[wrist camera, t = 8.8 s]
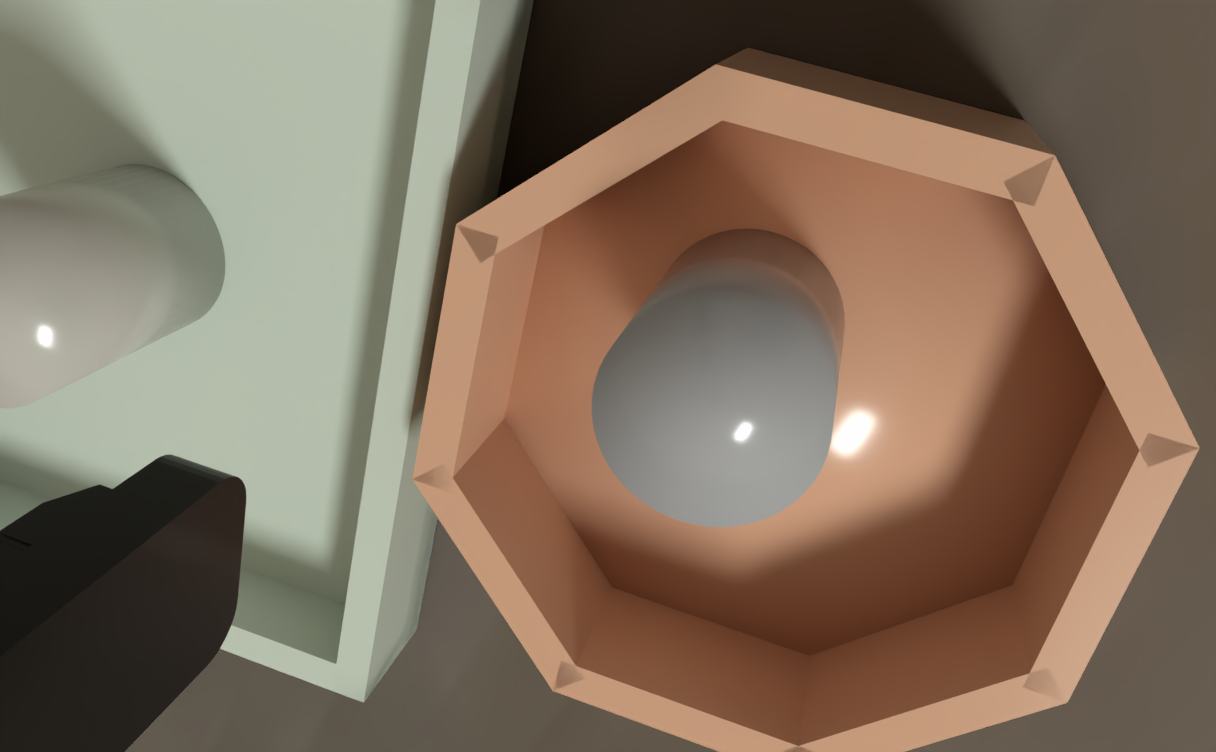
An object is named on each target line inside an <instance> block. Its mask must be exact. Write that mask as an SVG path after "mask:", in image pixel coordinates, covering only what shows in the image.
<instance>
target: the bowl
mask: <svg viewBox="0 0 1216 752" xmlns="http://www.w3.org/2000/svg"><path fill="white" fill-rule="evenodd" d="M733 229H761V230H766V231H770V232H775V233H778V234H780V235H783V236H786V237H788V238H790V239H792V240H794V241H796V242H798V243H800V244H801V245H802V246H804V247H805V248H807V249H808V250H810V251H811V252H812V253H813V254H814V255H815V256H816V257H817V258H818V259H819V260H820V261H821V262H822V263H823V264H824V265H825V267H826V268H827V269H828V271H829V272H830V274H831V275H832V277H833V279H834V281H835V283H836V285H837V287H838V289H839V292H840V295H841V298H842V301H843V307H844V313H845V331H844V339H843V348H842V356H841V364H840V373H839V381H838V389H837V397H836V406H835V414H834V422H833V430H832V439H831V444H830V448H829V452H828V455H827V458H826V460H825V462H824V465H823V467H822V469H821V471H820V473H819V474H818V476H817V478H816V479H815V481H814V482H813V483H812V485H811V486H810V487H809V488H808V489H807V491H806V492H805V493H804V494H803V495H802V496H801V497H800V498H798V499H797V500H796V501H795V502H794V503H793V504H791V505H790V506H788V507H787V508H785V509H784V510H782V511H781V512H779V513H777V514H775V515H773V516H771V517H769V518H766V519H763V520H760V521H757V522H755V523H750V524H746V525H741V526H732V527H707V526H700V525H694V524H690V523H686V522H682V521H679V520H676V519H674V518H671V517H669V516H666V515H664V514H662V513H660V512H658V511H656V510H654V509H652V508H651V507H649V506H648V505H646V504H645V503H643V502H642V501H641V500H639V499H638V498H637V497H636V496H634V495H633V494H632V493H631V492H630V491H629V490H628V489H627V488H626V487H625V486H624V485H623V484H622V483H621V482H620V481H619V480H618V478H617V477H616V476H615V474H614V473H613V472H612V470H611V469H610V467H609V466H608V464H607V462H606V460H605V458H604V457H603V455H602V453H601V450H600V448H599V445H598V442H597V440H596V436H595V432H594V428H593V421H592V394H593V387H594V382H595V379H596V376H597V373H598V370H599V368H600V366H601V364H602V361H603V359H604V357H605V356H606V354H607V353H608V351H609V350H610V348H611V347H612V345H613V344H614V343H615V341H616V340H617V338H618V337H619V336H620V334H621V333H622V332H623V330H624V329H625V328H626V326H627V325H628V323H629V322H630V321H631V319H632V318H633V317H634V315H635V314H636V313H637V311H638V310H639V309H640V307H641V306H642V304H643V303H644V302H645V300H646V299H647V298H648V296H649V295H650V294H651V292H652V291H653V289H654V288H655V287H656V285H657V284H658V283H659V281H660V280H661V279H662V277H663V276H664V274H665V273H666V272H667V270H668V269H669V268H670V266H671V265H672V264H673V263H674V261H675V260H676V259H677V258H678V257H679V256H680V255H681V254H682V253H683V252H684V251H685V250H687V249H688V248H689V247H690V246H692V245H693V244H695V243H697V242H698V241H700V240H702V239H704V238H706V237H708V236H710V235H713V234H716V233H719V232H723V231H728V230H733ZM1198 450H1199V446H1198V444H1197V442H1196V440H1195V438H1194V436H1193V434H1192V432H1191V430H1190V428H1189V426H1188V424H1187V422H1186V420H1185V418H1184V416H1183V414H1182V412H1181V410H1180V408H1179V406H1178V404H1177V402H1176V400H1175V398H1174V395H1173V393H1172V391H1171V389H1170V387H1169V385H1168V383H1167V381H1166V379H1165V377H1164V375H1163V373H1162V371H1161V369H1160V367H1159V365H1158V363H1157V361H1156V359H1155V357H1154V355H1153V353H1152V351H1151V349H1150V347H1149V345H1148V343H1147V341H1146V339H1145V337H1144V335H1143V333H1142V331H1141V329H1140V327H1139V324H1138V322H1137V320H1136V318H1135V316H1134V314H1133V312H1132V310H1131V308H1130V306H1129V304H1128V302H1127V300H1126V298H1125V296H1124V294H1123V292H1122V290H1121V288H1120V286H1119V284H1118V282H1117V280H1116V278H1115V276H1114V274H1113V272H1112V270H1111V268H1110V266H1109V264H1108V262H1107V260H1106V258H1105V256H1104V253H1103V251H1102V249H1101V247H1100V245H1099V243H1098V241H1097V239H1096V237H1095V235H1094V233H1093V231H1092V229H1091V227H1090V225H1089V223H1088V221H1087V219H1086V217H1085V215H1084V213H1083V211H1082V209H1081V207H1080V205H1079V203H1078V201H1077V199H1076V197H1075V195H1074V193H1073V191H1072V189H1071V187H1070V185H1069V182H1068V180H1067V178H1066V176H1065V174H1064V172H1063V170H1062V168H1061V166H1060V164H1059V162H1058V160H1057V158H1056V156H1055V155H1054V153H1053V152H1052V151H1051V150H1050V149H1049V148H1048V147H1047V145H1046V144H1045V143H1044V142H1043V141H1042V140H1041V138H1040V137H1039V136H1038V135H1037V134H1036V133H1035V131H1034V130H1033V129H1032V128H1031V127H1030V126H1029V125H1028V123H1027V122H1026V121H1024V120H1021V119H1017V118H1013V117H1009V116H1005V115H1002V114H998V113H994V112H990V111H986V110H983V109H979V108H975V107H971V106H968V105H964V104H960V103H956V102H952V101H949V100H945V99H941V98H937V97H934V96H930V95H926V94H922V93H918V92H915V91H911V90H907V89H903V88H899V87H896V86H892V85H888V84H884V83H881V82H877V81H873V80H869V79H865V78H862V77H858V76H854V75H850V74H847V73H843V72H839V71H835V70H831V69H828V68H824V67H820V66H816V65H812V64H809V63H805V62H801V61H797V60H794V59H790V58H786V57H782V56H778V55H775V54H771V53H767V52H763V51H759V50H756V49H752V48H746V49H744V50H742V51H740V52H738V53H736V54H734V55H732V56H731V57H729V58H727V59H725V60H723V61H721V62H719V63H717V64H715V65H714V66H712V67H711V68H709V69H707V70H706V71H704V72H702V73H701V74H699V75H698V76H696V77H694V78H693V79H691V80H689V81H688V82H686V83H685V84H683V85H681V86H680V87H678V88H676V89H675V90H673V91H672V92H670V93H668V94H667V95H665V96H663V97H662V98H660V99H659V100H657V101H655V102H654V103H652V104H650V105H649V106H647V107H646V108H644V109H642V110H641V111H639V112H637V113H636V114H634V115H633V116H631V117H629V118H628V119H626V120H624V121H623V122H621V123H620V124H618V125H616V126H615V127H613V128H611V129H610V130H608V131H607V132H605V133H603V134H602V135H600V136H598V137H597V138H595V139H594V140H592V141H590V142H589V143H587V144H585V145H584V146H582V147H581V148H579V149H577V150H576V151H574V152H572V153H571V154H569V155H568V156H566V157H564V158H563V159H561V160H559V161H558V162H556V163H555V164H553V165H551V166H550V167H548V168H546V169H545V170H543V171H542V172H540V173H538V174H537V175H535V176H533V177H532V178H530V179H529V180H527V181H525V182H524V183H522V184H520V185H519V186H517V187H516V188H514V189H512V190H511V191H509V192H507V193H506V194H504V195H503V196H501V197H499V198H498V199H496V200H494V201H493V202H491V203H490V204H488V205H486V206H485V207H483V208H481V209H480V210H478V211H477V212H475V213H473V214H472V215H470V216H468V217H467V218H465V219H464V220H462V221H460V222H459V223H457V224H456V228H455V234H454V239H453V245H452V251H451V257H450V263H449V269H448V274H447V280H446V286H445V292H444V298H443V304H442V309H441V315H440V321H439V327H438V333H437V339H436V344H435V350H434V356H433V362H432V368H431V374H430V379H429V385H428V391H427V397H426V403H425V408H424V414H423V420H422V426H421V432H420V438H419V443H418V449H417V455H416V461H415V467H414V473H413V478H412V480H413V481H414V483H415V484H416V486H417V487H418V489H419V490H420V492H421V493H422V495H423V496H424V498H425V499H426V501H427V502H428V504H429V505H430V507H431V508H432V510H433V511H434V513H435V514H436V516H437V517H438V519H439V520H440V522H441V523H442V525H443V526H444V528H445V529H446V531H447V532H448V534H449V535H450V537H451V538H452V540H453V541H454V543H455V544H456V546H457V547H458V549H459V550H460V552H461V553H462V555H463V556H464V558H465V559H466V561H467V562H468V564H469V565H470V567H471V568H472V570H473V571H474V573H475V574H476V576H477V577H478V579H479V580H480V582H481V583H482V585H483V587H484V588H485V590H486V591H487V593H488V594H489V596H490V597H491V599H492V600H493V602H494V603H495V605H496V606H497V608H498V609H499V611H500V612H501V614H502V615H503V617H504V618H505V620H506V621H507V623H508V624H509V626H510V627H511V629H512V630H513V632H514V633H515V635H516V636H517V638H518V639H519V641H520V642H521V644H522V645H523V647H524V648H525V650H526V651H527V653H528V654H529V656H530V657H531V659H532V660H533V662H534V663H535V665H536V666H537V668H538V669H539V671H540V672H541V674H542V675H543V677H544V678H545V680H546V681H547V683H548V684H549V686H550V687H551V689H552V690H553V691H555V692H557V693H560V694H563V695H566V696H568V697H571V698H574V699H577V700H579V701H582V702H585V703H588V704H590V705H593V706H596V707H598V708H601V709H604V710H607V711H609V712H612V713H615V714H618V715H620V716H623V717H626V718H629V719H631V720H634V721H637V722H640V723H642V724H645V725H648V726H651V727H653V728H656V729H659V730H662V731H664V732H667V733H670V734H673V735H675V736H678V737H681V738H683V739H686V740H689V741H692V742H694V743H697V744H700V745H703V746H705V747H708V748H711V749H714V750H716V751H719V752H904V751H908V750H911V749H914V748H918V747H921V746H924V745H928V744H931V743H935V742H938V741H941V740H945V739H948V738H951V737H955V736H958V735H961V734H965V733H968V732H971V731H975V730H978V729H981V728H985V727H988V726H991V725H995V724H998V723H1001V722H1005V721H1008V720H1011V719H1015V718H1018V717H1021V716H1025V715H1028V714H1031V713H1035V712H1038V711H1041V710H1045V709H1048V708H1051V707H1055V706H1058V705H1061V704H1065V703H1067V702H1068V700H1069V698H1070V696H1071V694H1072V693H1073V691H1074V689H1075V687H1076V685H1077V683H1078V681H1079V679H1080V677H1081V675H1082V673H1083V671H1084V669H1085V668H1086V666H1087V664H1088V662H1089V660H1090V658H1091V656H1092V654H1093V652H1094V650H1095V648H1096V646H1097V644H1098V643H1099V641H1100V639H1101V637H1102V635H1103V633H1104V631H1105V629H1106V627H1107V625H1108V623H1109V621H1110V619H1111V618H1112V616H1113V614H1114V612H1115V610H1116V608H1117V606H1118V604H1119V602H1120V600H1121V598H1122V596H1123V594H1124V593H1125V591H1126V589H1127V587H1128V585H1129V583H1130V581H1131V579H1132V577H1133V575H1134V573H1135V571H1136V569H1137V568H1138V566H1139V564H1140V562H1141V560H1142V558H1143V556H1144V554H1145V552H1146V550H1147V548H1148V546H1149V544H1150V542H1151V541H1152V539H1153V537H1154V535H1155V533H1156V531H1157V529H1158V527H1159V525H1160V523H1161V521H1162V519H1163V517H1164V516H1165V514H1166V512H1167V510H1168V508H1169V506H1170V504H1171V502H1172V500H1173V498H1174V496H1175V494H1176V492H1177V491H1178V489H1179V487H1180V485H1181V483H1182V481H1183V479H1184V477H1185V475H1186V473H1187V471H1188V469H1189V467H1190V466H1191V464H1192V462H1193V460H1194V458H1195V456H1196V454H1197V452H1198Z"/></svg>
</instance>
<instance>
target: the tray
mask: <svg viewBox="0 0 1216 752" xmlns="http://www.w3.org/2000/svg"><path fill="white" fill-rule="evenodd" d="M533 2H534V0H0V196H1V195H5V194H9V193H13V192H17V191H21V190H25V189H29V188H33V187H37V186H41V185H45V184H49V183H53V182H57V181H61V180H65V179H69V178H73V177H77V176H81V175H85V174H89V173H93V172H97V171H101V170H105V169H109V168H113V167H117V166H121V165H126V164H141V165H148V166H152V167H155V168H158V169H161V170H163V171H166V172H167V173H169V174H171V175H173V176H175V177H176V178H178V179H179V180H181V181H182V182H183V183H185V184H186V185H187V186H188V187H189V188H190V189H191V190H193V192H194V193H195V194H196V195H197V196H198V197H199V198H200V199H201V201H202V202H203V203H204V205H205V206H206V207H207V209H208V210H209V212H210V214H211V215H212V217H213V219H214V221H215V223H216V225H217V228H218V230H219V233H220V236H221V239H222V243H223V247H224V253H225V277H224V283H223V286H222V290H221V292H220V295H219V297H218V299H217V301H216V302H215V304H214V305H213V307H212V308H211V309H210V310H209V311H208V312H207V314H205V315H204V316H203V317H202V318H200V319H199V320H197V321H195V322H193V323H191V324H189V325H187V326H185V327H183V328H181V329H179V330H177V331H175V332H173V333H171V334H169V335H167V336H165V337H163V338H161V339H159V340H157V341H155V342H153V343H151V344H149V345H147V346H145V347H143V348H141V349H139V350H137V351H135V352H133V353H131V354H130V355H128V356H126V357H124V358H122V359H120V360H118V361H116V362H114V363H112V364H110V365H108V366H106V367H104V368H102V369H100V370H98V371H96V372H94V373H92V374H90V375H88V376H86V377H84V378H82V379H80V380H78V381H76V382H74V383H72V384H70V385H68V386H66V387H64V388H62V389H60V390H58V391H56V392H54V393H52V394H50V395H48V396H46V397H44V398H42V399H40V400H38V401H36V402H34V403H32V404H29V405H26V406H23V407H18V408H0V530H2V529H3V528H5V527H6V526H8V525H9V524H11V523H12V522H14V521H15V520H17V519H18V518H20V517H22V516H23V515H25V514H26V513H28V512H29V511H31V510H32V509H34V508H35V507H37V506H38V505H40V504H42V503H44V502H47V501H50V500H53V499H56V498H59V497H62V496H65V495H68V494H71V493H74V492H78V491H81V490H84V489H87V488H90V487H93V486H96V485H99V484H100V485H103V486H106V487H108V488H111V489H113V488H115V487H116V486H118V485H119V484H121V483H122V482H123V481H125V480H126V479H128V478H129V477H131V476H132V475H134V474H135V473H137V472H138V471H139V470H141V469H142V468H144V467H145V466H147V465H148V464H150V463H151V462H152V461H154V460H155V459H157V458H159V457H161V456H164V455H175V456H178V457H181V458H183V459H186V460H189V461H192V462H195V463H198V464H201V465H204V466H207V467H210V468H213V469H215V470H218V471H221V472H224V473H227V474H230V475H233V476H236V477H239V478H240V479H241V480H242V481H243V483H244V485H245V488H246V510H245V522H244V533H243V545H242V557H241V568H240V580H239V591H238V601H237V608H236V612H235V616H234V619H233V622H232V625H231V627H230V630H229V632H228V634H227V636H226V638H225V640H224V642H223V644H222V646H221V647H220V649H222V650H225V651H228V652H230V653H233V654H236V655H238V656H241V657H244V658H246V659H249V660H252V661H254V662H257V663H260V664H262V665H265V666H268V667H270V668H273V669H276V670H278V671H281V672H284V673H286V674H289V675H291V676H294V677H297V678H299V679H302V680H305V681H307V682H310V683H313V684H315V685H318V686H321V687H323V688H326V689H329V690H331V691H334V692H337V693H339V694H342V695H345V696H347V697H350V698H353V699H355V700H358V701H360V702H363V703H364V701H365V700H366V699H367V697H368V696H369V695H370V693H371V692H372V690H373V689H374V688H375V686H376V685H377V684H378V682H379V681H380V679H381V678H382V677H383V675H384V674H385V672H386V671H387V670H388V668H389V667H390V666H391V664H392V663H393V661H394V660H395V659H396V657H397V656H398V655H399V653H400V652H401V650H402V649H403V648H404V646H405V645H406V644H407V642H408V641H409V639H410V638H411V637H412V635H413V634H414V633H415V631H416V630H417V625H418V620H419V615H420V609H421V604H422V598H423V593H424V588H425V582H426V577H427V572H428V566H429V561H430V555H431V550H432V545H433V539H434V534H435V529H436V523H437V518H438V517H437V516H436V514H435V513H434V511H433V510H432V508H431V507H430V505H429V504H428V502H427V501H426V499H425V498H424V496H423V495H422V493H421V492H420V490H419V489H418V487H417V486H416V484H415V483H414V481H413V480H412V478H413V473H414V467H415V461H416V455H417V449H418V443H419V438H420V432H421V426H422V420H423V414H424V408H425V403H426V397H427V391H428V385H429V379H430V374H431V368H432V362H433V356H434V350H435V344H436V339H437V333H438V327H439V321H440V315H441V309H442V304H443V298H444V292H445V286H446V280H447V274H448V269H449V263H450V257H451V251H452V245H453V239H454V234H455V228H456V224H457V223H459V222H460V221H462V220H464V219H465V218H467V217H468V216H470V215H472V214H473V213H475V212H477V211H478V210H480V209H481V208H483V207H485V206H486V205H488V204H490V203H491V202H493V201H494V200H496V199H497V195H498V190H499V185H500V179H501V174H502V169H503V163H504V158H505V152H506V147H507V142H508V136H509V131H510V126H511V120H512V115H513V109H514V104H515V99H516V93H517V88H518V83H519V77H520V72H521V67H522V61H523V56H524V50H525V45H526V40H527V34H528V29H529V24H530V18H531V13H532V7H533Z"/></svg>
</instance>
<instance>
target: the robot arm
mask: <svg viewBox="0 0 1216 752" xmlns="http://www.w3.org/2000/svg"><path fill="white" fill-rule="evenodd" d="M245 510H246V488H245V485H244V483H243V481H242V480H241V479H240V478H239V477H236V476H233V475H230V474H227V473H224V472H221V471H218V470H215V469H213V468H210V467H207V466H204V465H201V464H198V463H195V462H192V461H189V460H186V459H183V458H181V457H178V456H175V455H164V456H161V457H159V458H157V459H155V460H154V461H152V462H151V463H150V464H148V465H147V466H145V467H144V468H142V469H141V470H139V471H138V472H137V473H135V474H134V475H132V476H131V477H129V478H128V479H126V480H125V481H123V482H122V483H121V484H119V485H118V486H116V487H115V488H113V489H111V488H108V487H106V486H103V485H100V484H99V485H96V486H93V487H90V488H87V489H84V490H81V491H78V492H74V493H71V494H68V495H65V496H62V497H59V498H56V499H53V500H50V501H47V502H44V503H42V504H40V505H38V506H37V507H35V508H34V509H32V510H31V511H29V512H28V513H26V514H25V515H23V516H22V517H20V518H18V519H17V520H15V521H14V522H12V523H11V524H9V525H8V526H6V527H5V528H3V529H2V530H0V752H125V751H126V750H127V748H128V747H129V746H130V745H131V744H132V743H133V742H134V741H135V740H136V739H137V738H138V737H139V736H140V735H141V734H142V733H143V732H144V731H145V730H146V729H147V728H148V727H149V726H150V725H151V723H152V722H153V721H154V720H155V719H156V718H157V717H158V716H159V715H160V714H161V713H162V712H163V711H164V710H165V709H166V708H167V707H168V706H169V705H170V704H171V703H172V702H173V701H174V699H175V698H176V697H177V696H178V695H179V694H180V693H181V692H182V691H183V690H184V689H185V688H186V687H187V686H188V685H189V684H190V683H191V682H192V681H193V680H194V679H195V678H196V677H197V676H198V674H199V673H200V672H201V671H202V670H203V669H204V668H205V667H206V666H207V665H208V664H209V663H210V662H211V660H212V659H213V658H214V656H215V655H216V654H217V652H218V651H219V649H220V647H221V646H222V644H223V642H224V640H225V638H226V636H227V634H228V632H229V630H230V627H231V625H232V622H233V619H234V616H235V612H236V608H237V601H238V591H239V580H240V568H241V557H242V545H243V533H244V522H245Z"/></svg>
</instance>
